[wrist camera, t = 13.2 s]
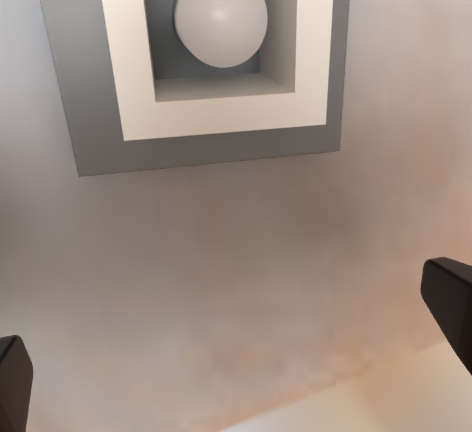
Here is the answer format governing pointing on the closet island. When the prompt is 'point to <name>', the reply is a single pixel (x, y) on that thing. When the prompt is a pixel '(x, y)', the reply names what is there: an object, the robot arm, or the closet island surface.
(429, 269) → the robot arm
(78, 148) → the post stand
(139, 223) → the closet island surface
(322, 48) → the collar
